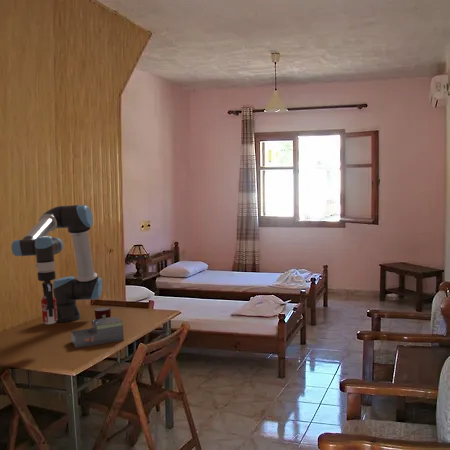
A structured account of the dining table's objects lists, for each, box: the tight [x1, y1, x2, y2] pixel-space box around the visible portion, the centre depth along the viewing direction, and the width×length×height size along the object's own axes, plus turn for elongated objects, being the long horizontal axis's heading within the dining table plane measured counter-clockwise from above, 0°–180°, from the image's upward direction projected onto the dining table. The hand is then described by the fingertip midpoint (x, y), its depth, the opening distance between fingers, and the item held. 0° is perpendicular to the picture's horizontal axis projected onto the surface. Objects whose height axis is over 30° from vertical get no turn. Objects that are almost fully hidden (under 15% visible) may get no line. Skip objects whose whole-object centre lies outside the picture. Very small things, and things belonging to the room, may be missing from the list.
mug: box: [94, 306, 112, 319], centre depth 282 cm, size 11×8×10 cm
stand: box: [70, 315, 125, 349], centre depth 260 cm, size 13×22×12 cm, turn 115°
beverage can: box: [40, 295, 58, 325], centre depth 248 cm, size 6×6×12 cm
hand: (50, 321), depth 249 cm, fingers closed on beverage can, 6 cm apart
